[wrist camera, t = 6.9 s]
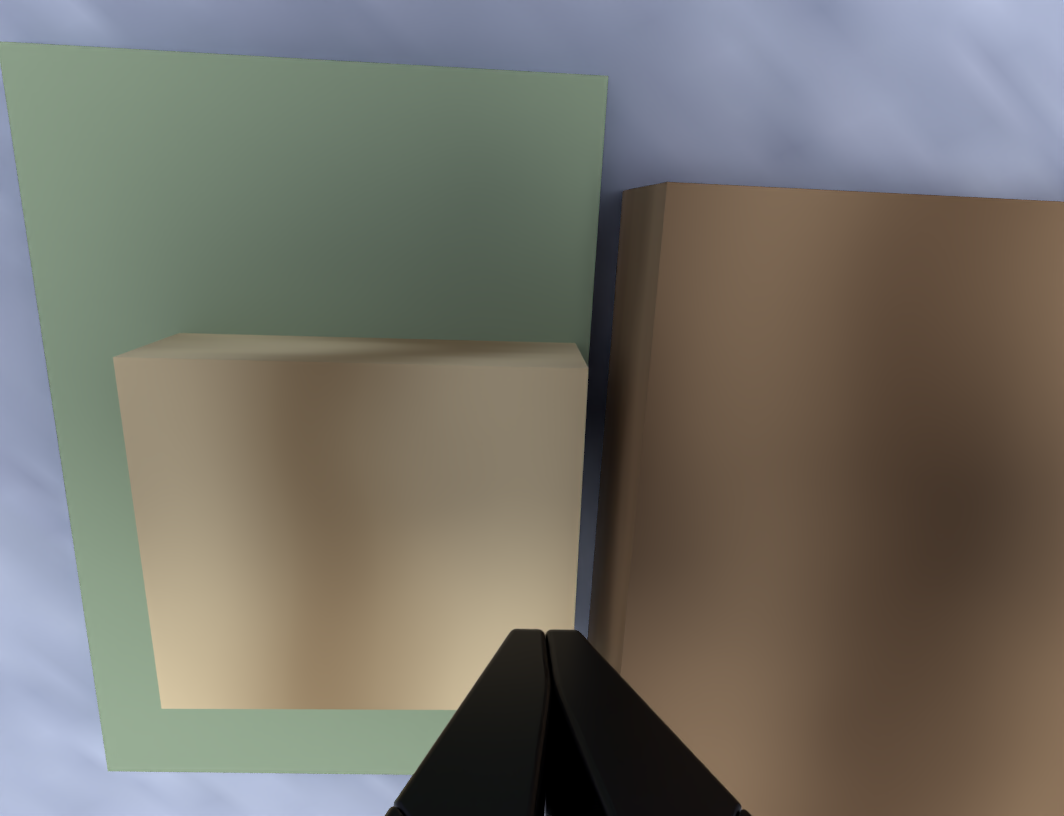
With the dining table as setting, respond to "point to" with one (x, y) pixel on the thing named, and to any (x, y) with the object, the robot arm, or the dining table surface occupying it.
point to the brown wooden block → (840, 494)
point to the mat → (277, 289)
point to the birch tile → (349, 512)
